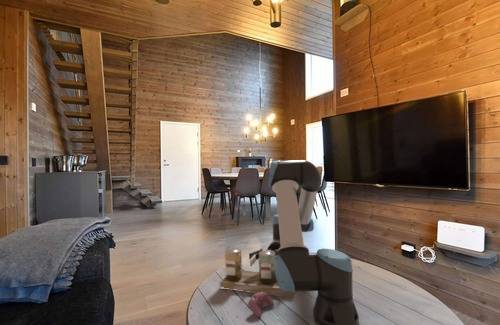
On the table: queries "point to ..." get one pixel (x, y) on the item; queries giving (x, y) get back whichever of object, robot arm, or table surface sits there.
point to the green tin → (267, 267)
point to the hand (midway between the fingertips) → (265, 264)
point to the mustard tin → (233, 264)
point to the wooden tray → (255, 285)
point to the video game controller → (261, 298)
